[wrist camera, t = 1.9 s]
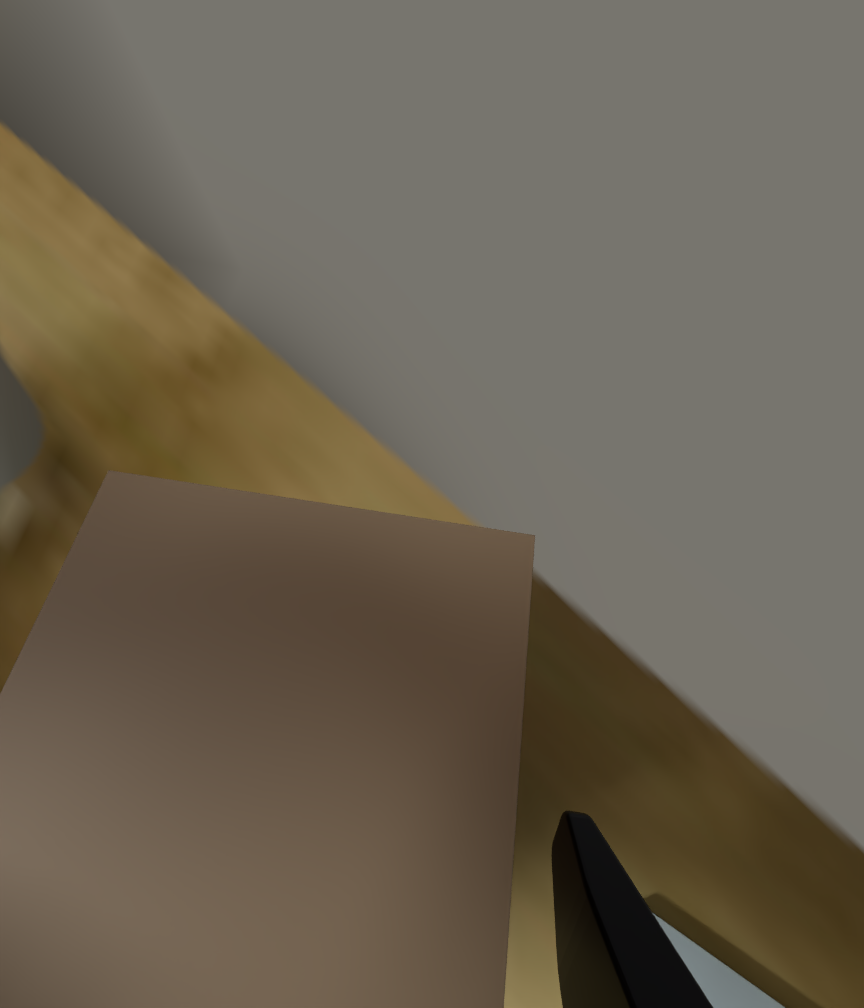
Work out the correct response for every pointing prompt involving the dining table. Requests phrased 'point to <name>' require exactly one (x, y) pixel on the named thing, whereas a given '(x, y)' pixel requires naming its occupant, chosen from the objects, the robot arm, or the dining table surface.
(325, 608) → the walnut block
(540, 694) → the dining table surface
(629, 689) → the dining table surface
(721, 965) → the slate-blue tile
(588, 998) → the robot arm
